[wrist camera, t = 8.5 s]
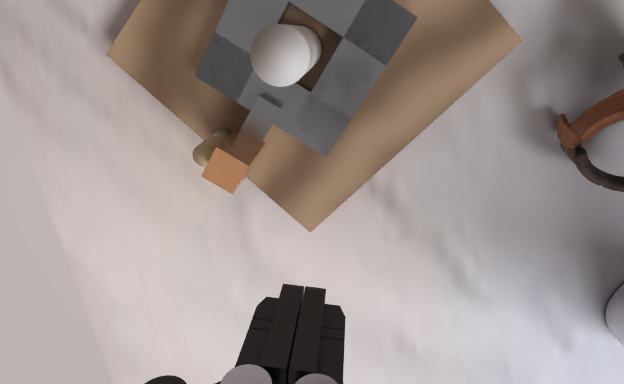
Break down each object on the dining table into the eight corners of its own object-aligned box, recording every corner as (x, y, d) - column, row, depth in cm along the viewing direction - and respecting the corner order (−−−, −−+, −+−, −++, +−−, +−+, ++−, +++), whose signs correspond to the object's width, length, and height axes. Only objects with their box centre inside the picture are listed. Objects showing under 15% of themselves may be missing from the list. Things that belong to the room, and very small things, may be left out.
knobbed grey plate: (302, 190, 33) (291, 227, 27) (180, 118, 31) (138, 140, 25) (415, 18, 27) (434, 14, 21) (271, -81, 25) (245, -116, 19)
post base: (511, 39, 29) (610, 46, 18) (312, 222, 36) (295, 305, 25) (295, -215, 24) (249, -415, 13) (120, 52, 32) (-2, 65, 21)
